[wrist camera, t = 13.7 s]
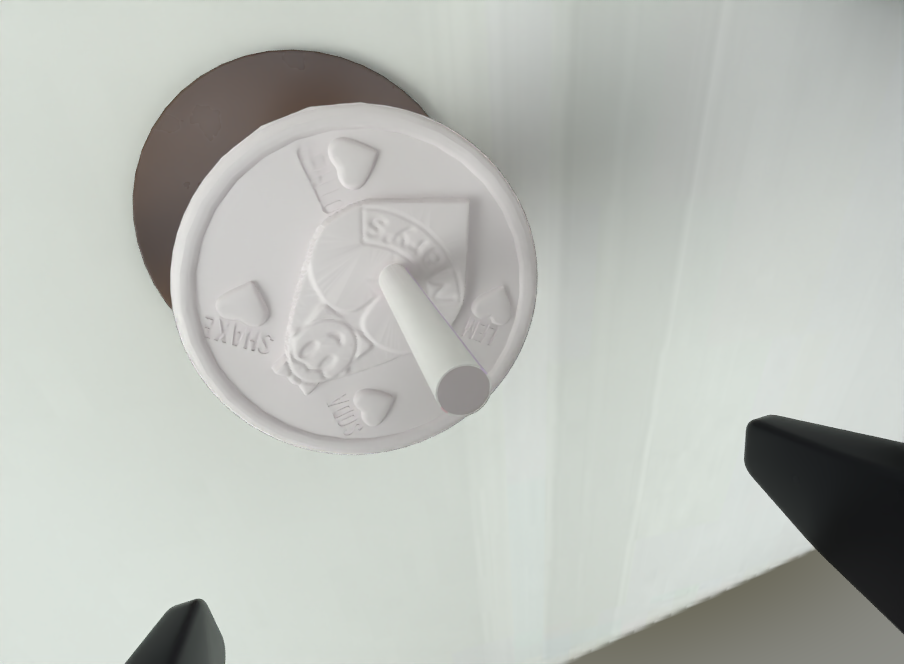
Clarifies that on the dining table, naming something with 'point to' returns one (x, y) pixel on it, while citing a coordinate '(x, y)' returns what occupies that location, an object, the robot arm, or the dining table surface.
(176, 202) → the coaster
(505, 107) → the dining table surface
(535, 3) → the dining table surface
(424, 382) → the smoothie
